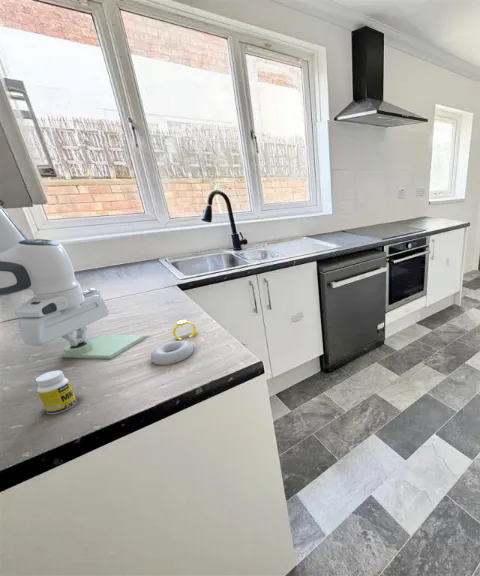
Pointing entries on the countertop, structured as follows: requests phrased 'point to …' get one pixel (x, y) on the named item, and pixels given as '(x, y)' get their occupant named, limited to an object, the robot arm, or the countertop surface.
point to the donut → (171, 352)
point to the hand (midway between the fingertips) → (78, 343)
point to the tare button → (79, 345)
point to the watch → (184, 324)
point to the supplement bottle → (55, 392)
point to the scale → (103, 346)
